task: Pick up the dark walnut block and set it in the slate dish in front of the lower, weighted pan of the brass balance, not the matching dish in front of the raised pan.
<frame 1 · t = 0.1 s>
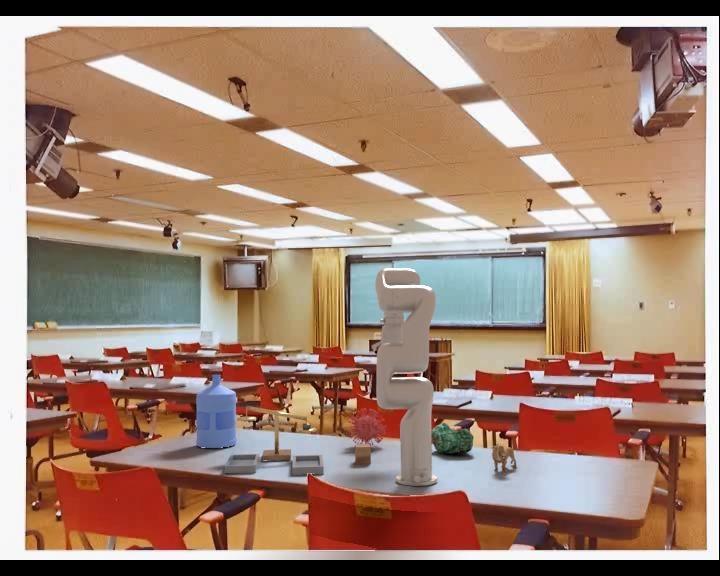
hand: (394, 367, 248), 31 cm above the table, fingers open, 9 cm apart
water jug: (216, 446, 263), on the table
mineral: (452, 453, 244), on the table
dish low side: (307, 468, 221), on the table
balance: (277, 458, 238), on the table
lion figurine: (505, 470, 216), on the table
walnut block: (362, 463, 229), on the table
virus model: (367, 447, 256), on the table
dish high side: (242, 467, 225), on the table
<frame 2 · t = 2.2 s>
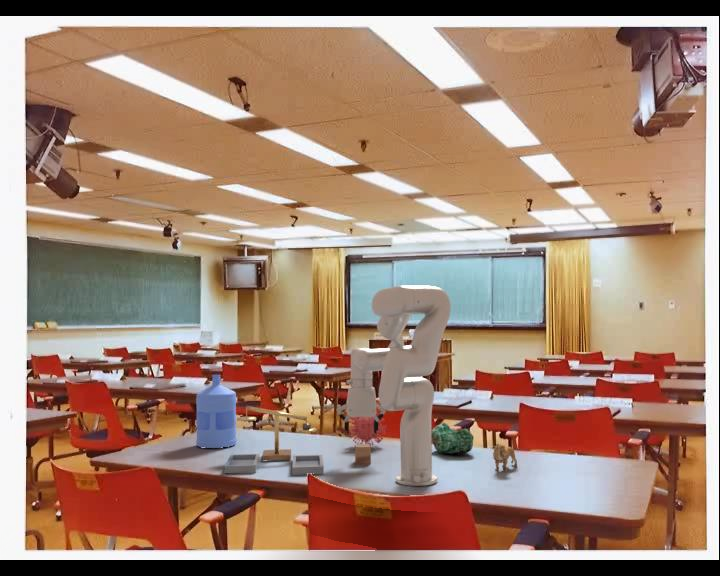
hand: (361, 432, 230), 10 cm above the table, fingers open, 9 cm apart
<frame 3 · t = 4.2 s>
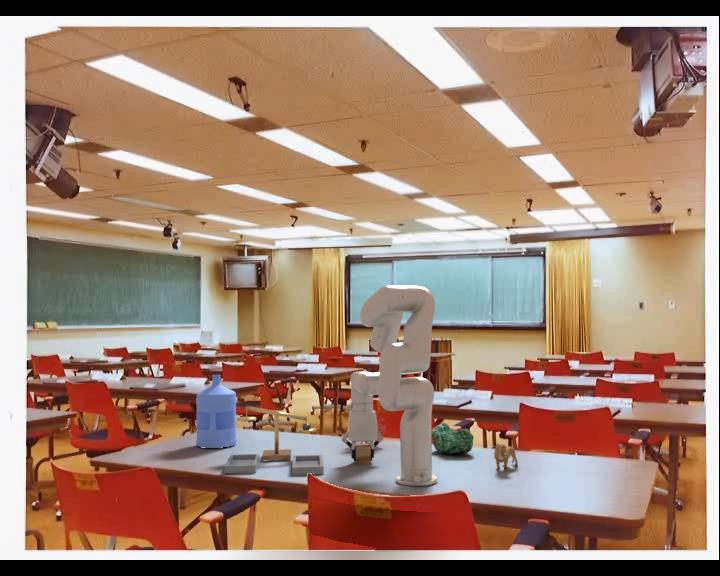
hand: (362, 459, 229), 1 cm above the table, fingers closed on walnut block, 5 cm apart
walnut block: (362, 462, 229), on the table, touching gripper
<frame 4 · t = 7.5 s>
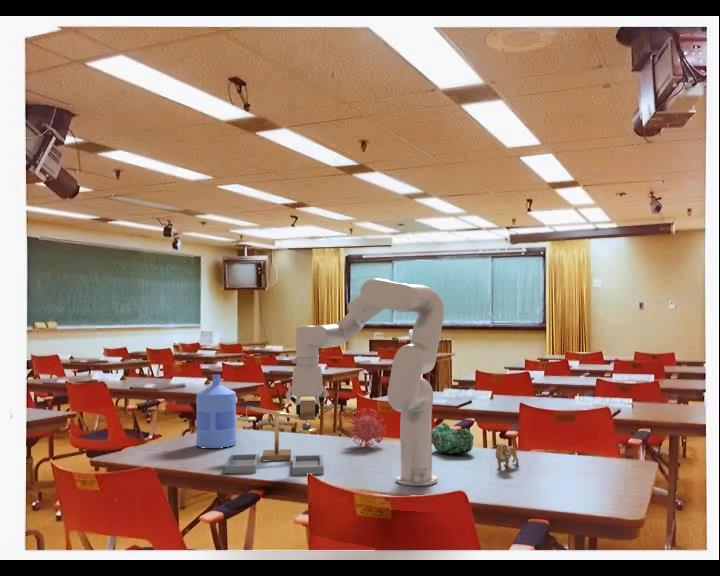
hand: (307, 415, 222), 17 cm above the table, fingers closed on walnut block, 5 cm apart
walnut block: (307, 418, 222), point 16 cm above the table, touching gripper
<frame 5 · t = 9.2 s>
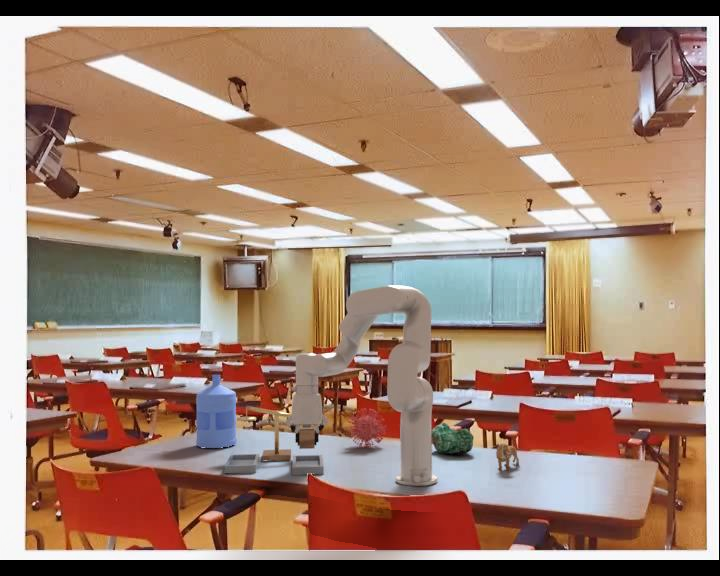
hand: (307, 444, 222), 8 cm above the table, fingers closed on walnut block, 5 cm apart
walnut block: (307, 447, 222), point 7 cm above the table, touching gripper
when the fingers open (3 cm above the table, at t = 10.9 s): walnut block drops 1 cm, resting on dish low side.
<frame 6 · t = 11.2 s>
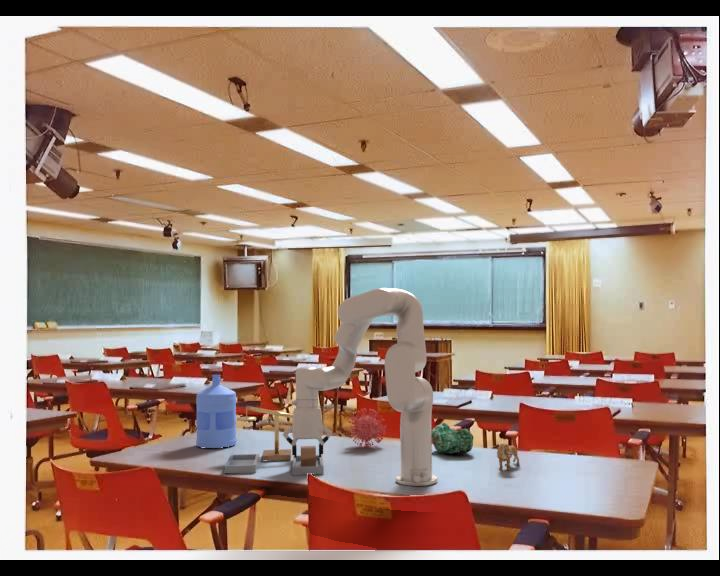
hand: (307, 456, 222), 4 cm above the table, fingers open, 7 cm apart
walnut block: (308, 465, 222), point 1 cm above the table, touching dish low side
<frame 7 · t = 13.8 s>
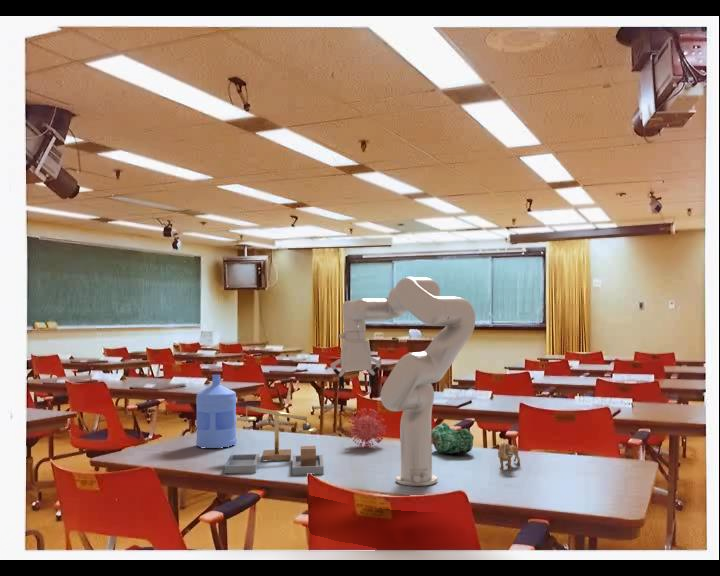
hand: (356, 387, 223), 27 cm above the table, fingers open, 9 cm apart
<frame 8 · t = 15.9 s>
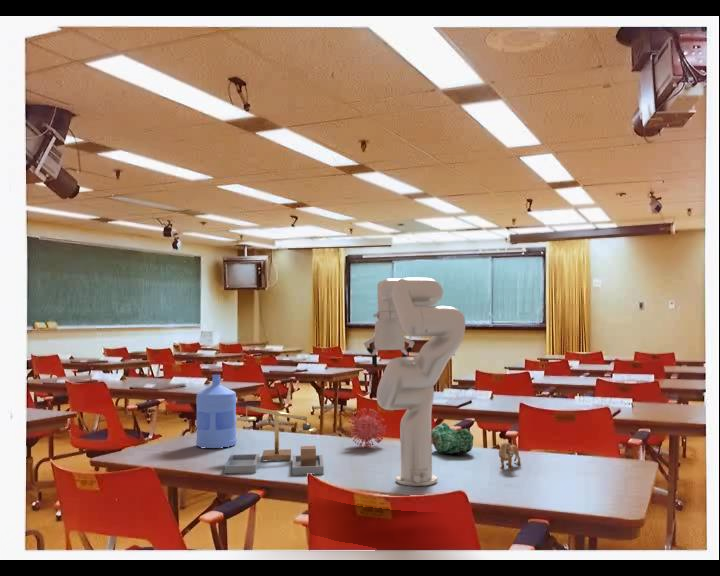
hand: (389, 366, 225), 33 cm above the table, fingers open, 9 cm apart
at the end: walnut block inside the target area on the dish low side (0.2 cm from its centre), point 1.0 cm above the dish low side's base; walnut block tilted 0°; the gripper is holding nothing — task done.
